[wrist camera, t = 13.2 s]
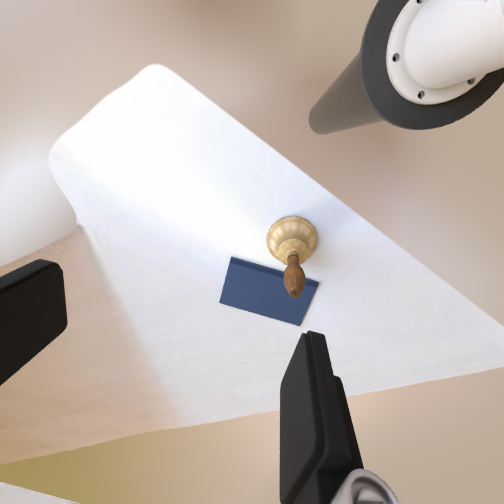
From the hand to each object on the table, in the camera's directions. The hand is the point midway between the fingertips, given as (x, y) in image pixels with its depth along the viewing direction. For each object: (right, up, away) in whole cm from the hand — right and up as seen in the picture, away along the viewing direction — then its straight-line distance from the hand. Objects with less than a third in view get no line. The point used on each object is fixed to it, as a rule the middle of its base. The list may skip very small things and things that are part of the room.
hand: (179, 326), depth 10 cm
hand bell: (+9, +5, +32) cm, 34 cm away
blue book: (+6, -5, +36) cm, 37 cm away
